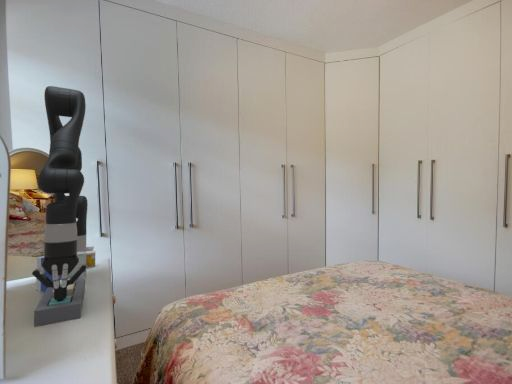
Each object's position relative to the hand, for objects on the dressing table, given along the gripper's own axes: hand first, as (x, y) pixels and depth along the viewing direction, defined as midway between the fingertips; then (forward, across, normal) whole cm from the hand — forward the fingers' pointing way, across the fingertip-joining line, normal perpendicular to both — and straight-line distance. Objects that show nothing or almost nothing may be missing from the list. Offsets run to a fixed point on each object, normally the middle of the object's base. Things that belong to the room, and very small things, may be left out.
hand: (60, 300), depth 76 cm
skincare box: (+4, -2, -27) cm, 28 cm away
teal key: (+4, 0, 0) cm, 4 cm away
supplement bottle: (+4, -5, -53) cm, 54 cm away
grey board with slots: (+4, 0, -7) cm, 8 cm away
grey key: (+2, 0, -14) cm, 14 cm away
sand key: (+2, 0, -7) cm, 7 cm away
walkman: (+4, +6, -25) cm, 26 cm away
